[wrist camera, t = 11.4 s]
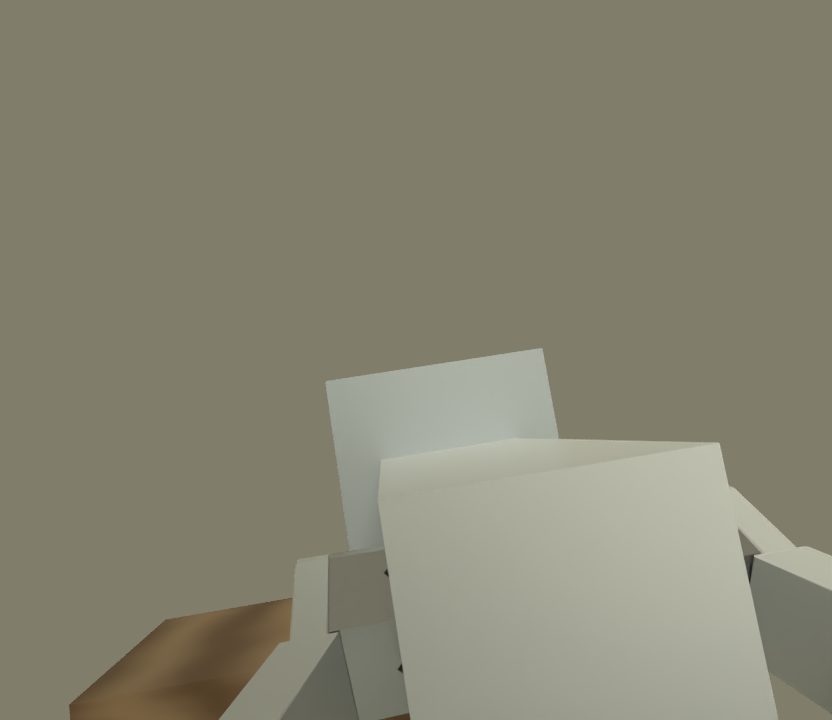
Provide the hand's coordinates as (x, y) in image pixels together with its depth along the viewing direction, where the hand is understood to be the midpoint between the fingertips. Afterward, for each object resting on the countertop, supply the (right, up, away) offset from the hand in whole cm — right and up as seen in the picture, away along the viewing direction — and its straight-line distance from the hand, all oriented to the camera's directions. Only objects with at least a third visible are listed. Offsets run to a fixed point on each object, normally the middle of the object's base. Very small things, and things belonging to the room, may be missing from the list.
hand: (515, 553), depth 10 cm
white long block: (0, -3, +5) cm, 6 cm away
